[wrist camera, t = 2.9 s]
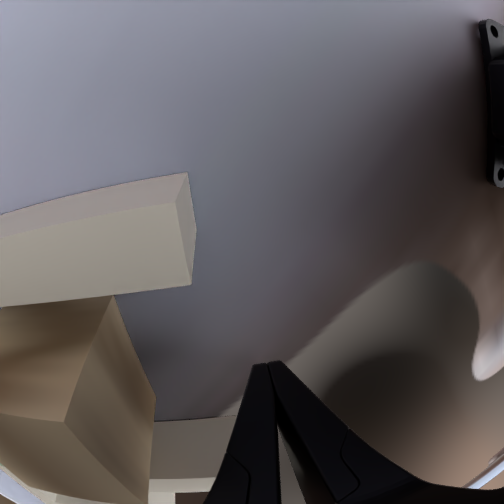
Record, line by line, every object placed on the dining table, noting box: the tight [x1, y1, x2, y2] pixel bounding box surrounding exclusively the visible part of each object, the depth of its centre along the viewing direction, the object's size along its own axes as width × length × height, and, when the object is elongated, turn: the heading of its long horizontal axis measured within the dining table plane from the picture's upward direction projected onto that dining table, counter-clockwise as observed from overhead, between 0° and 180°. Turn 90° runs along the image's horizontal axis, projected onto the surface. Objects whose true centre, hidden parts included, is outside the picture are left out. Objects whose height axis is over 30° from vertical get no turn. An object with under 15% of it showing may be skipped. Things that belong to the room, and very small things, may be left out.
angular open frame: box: [0, 172, 236, 504], centre depth 9 cm, size 18×18×3 cm
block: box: [0, 295, 156, 504], centre depth 8 cm, size 5×5×5 cm
